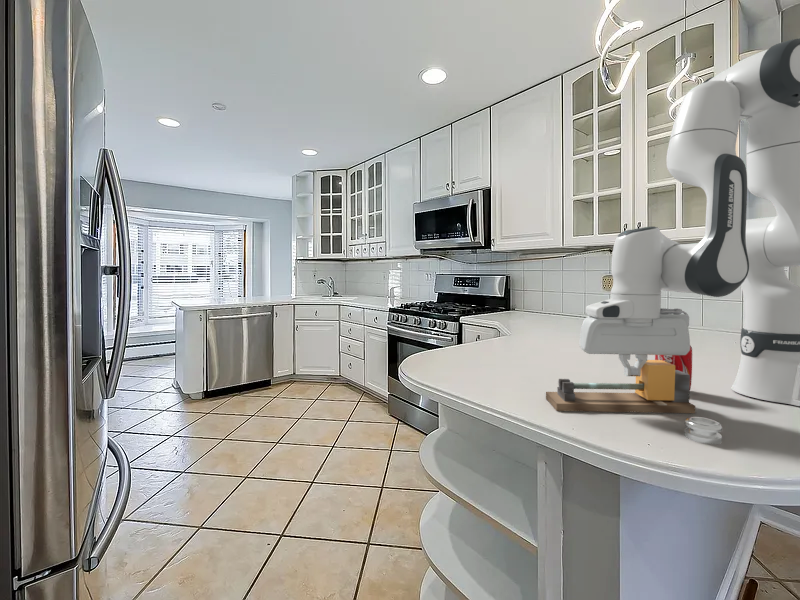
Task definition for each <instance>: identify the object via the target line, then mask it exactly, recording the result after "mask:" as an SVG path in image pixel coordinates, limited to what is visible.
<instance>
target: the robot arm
mask: <svg viewBox="0 0 800 600" xmlns="http://www.w3.org/2000/svg"><path fill="white" fill-rule="evenodd" d="M744 119H745V120H746V122H747V125H748V128H747V129H748V130H747V137H746V152H745V153H746V155H745V157H746V163H745V162H744V160H743V159H742V158H741V157H740V156H738V155H737V149H736V148H737V147H736V145H737V139H738V132H739V125H740V121H741V120H744ZM669 137H670V138H669V141H668V146H667V151H666V163H665V164H666V169H667V171H668V173H669V174H670V176H671V177H672V178H673V179H675V180H676V181H678V182H679V183H683V184H685V185H688V186H693V187H698V188H701V189H702V190H703V191H704V193H705V196H706V197H705V198H706V208H705V210H706V211H705V229H704V230H705V231H704V235H703V237H702V238H701V240H700V241H699V242H695V243H680V242H678V241H675V240H673V239H671V238H669V237H668V236H666V235H665V234H664V233H662V231H661V229H660V227H658V226H646V227H640V228H639V227H637V228H631V229H628V230H624V231H622V232H620V233H619V234H617V236H616V238H615V240H614V244H613V247H612V255H611V270H610V271H611V273H610V274H611V276H612V281H613V282H612V287H611V289H610V298H608V299H604V300H601V301H598V302H594V303H591V304H589V305H586V306H585V315H587V316H586V317H585V318H584V319H583V321H582V324H581V327H580V333H579V348H580V349H581V351H583V352H584V353H585V354H589V355H618V359H619V361H620V363H621V364H622V367H623V375H624V376H626V377H636V376H640V375H641V368H642V367H643V366H644V364H645V363H646V361H647V360H648V356H655V355H686V354H687V353H688V352H689V351H690V345H691V339H690V331H689V326H690V316H689V314H688V313H687V312H686V311H685V310H682V308H664V307H663V308H662V307H661V306H662V305H661V303H662V291H664V292H665V291H666V292H676V293H684V294H685V293H686V294H697V295H700V296H701V295H702V296H707V297H714V298H722V297H725V296H726V297H727V296H728V295H730V294H732V293H734V292H735V291H736V290H737V289H738V288H739V287H740V288H741V292H742V297H743V328H741V329H740V339H739V340H740V341H739V344H740V352H741V354H740V360H739V366H738V370H737V374H736V375H735V379H734V381H733V383H732V386H731V390H732V391H733V392H735V393H738V394H740V395H743V396H746V397H751V398H755V399H758V400H764V401H768V402H773V403H781V404H788V405H792V406H797V407H800V285H796V284H795V283H793V282H792V281H791V280H789V278H788V276H787V275H786V271H785V268H786V267H787V268H789V267H790V268H791V267H800V38H794V39H793V38H792V39H789V40H786V41H781V42H780V43H779V42H778V43H776V44H773V45H772V46H771V47H770V48H767V49H764V50H762V51H760V52H756V53H754V54H752V55H750V56H748V57H746V58H744V59H741V60H739V61H738V62H735V63H734V64H733V65H731V66H730V67H727V68H726V69H723V70H722V71H720V72H719V73H717V74H716V75H715V76H711V77H708V78H707V79H706V80H705V81H703V82H701V83H700V84H698V85H696V86H694V87H693V88H691V89H690V90H689V91H688V92H686V94H685V95H684V96H683V98H682V101H681V104H680V106H679V109H678V110H677V113H676V115H675V119H674V122H673V126H672V129H671V131H670V136H669ZM748 191H749V193H751V194H752V195H753V196H755V197H757V198H759V199H763V200H767V201H769V203H771V204H772V205H773V207H774V209H775V212H776V213H775V214H776V215H775V216H766V217H758V218H747V204H748ZM631 355H633V356H634V355H635V356H634V357H635V359H636V360H637V361H636V360H635V362H634V364H633V366H632V365H631V364H630V363H629V361H630V360H631Z"/></svg>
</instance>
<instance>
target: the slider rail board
mask: <svg viewBox="0 0 800 600" xmlns="http://www.w3.org/2000/svg"><path fill="white" fill-rule="evenodd" d="M585 389H586V390H629V391H631V390H634V391H635V390H644V384H636V383H624V382H623V383H621V382H620V383H618V382H617V383H615V382H614V383H613V382H609V383H607V382H604V383H603V382H600V383H599V382H573V381H571V380H570V379H569V378H558V386H557V389H556V390H557V391H545V400H546V401H548V402H549V404H550V406H552V407H553V408H554V409H555V411H556V412H590V413H591V412H597V413H598V412H599V413H601V412H603V413H605V412H607V413H648V412H649V413H650V414H651V412H652V413H656V414H658V413H661V414H696V405H694V404H693V403H691V402H690V391H689V389H690V375H689V374H686V373H684V372H681V371H679V370H675V392H674V400H647V399H645V398H643V397H642V396H640V395H638V394H637V393H635V392H604V391H603V392H594V391H593V392H591V391H590V392H587V391H584V392H583V391H582V392H581V391H579V392H578V391H575V390H585ZM690 390H691V389H690Z"/></svg>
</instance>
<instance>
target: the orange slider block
mask: <svg viewBox="0 0 800 600" xmlns="http://www.w3.org/2000/svg"><path fill="white" fill-rule="evenodd" d="M636 361H637V359H635V362H636ZM635 384H644V390H634V393H637V394H638V395H640V396H642V397H643V398H645V399H647V400H674V392H675V365H673V364H670V363H668V362H665V361H663V360H655V359H647V361H646V363H645V364H644V366H643V367H642V368H641V375H640V376H635Z"/></svg>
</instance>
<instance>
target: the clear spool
mask: <svg viewBox="0 0 800 600" xmlns="http://www.w3.org/2000/svg"><path fill="white" fill-rule="evenodd" d="M684 425H685V427H686V428H684V431H683V436H684V437H685V438H686V439H688V440H690V441H693V442H695V443H699V444H703V445H704V444H705V445H719V444H722V443H721V442H723V436H722V434H720V433H721V432H723V426H722V424H721V423H720V422H718V421H716V420H714V419H711V418H707V417H701V416H690V417H689V416H688V417H687V418H686V419H684Z"/></svg>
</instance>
